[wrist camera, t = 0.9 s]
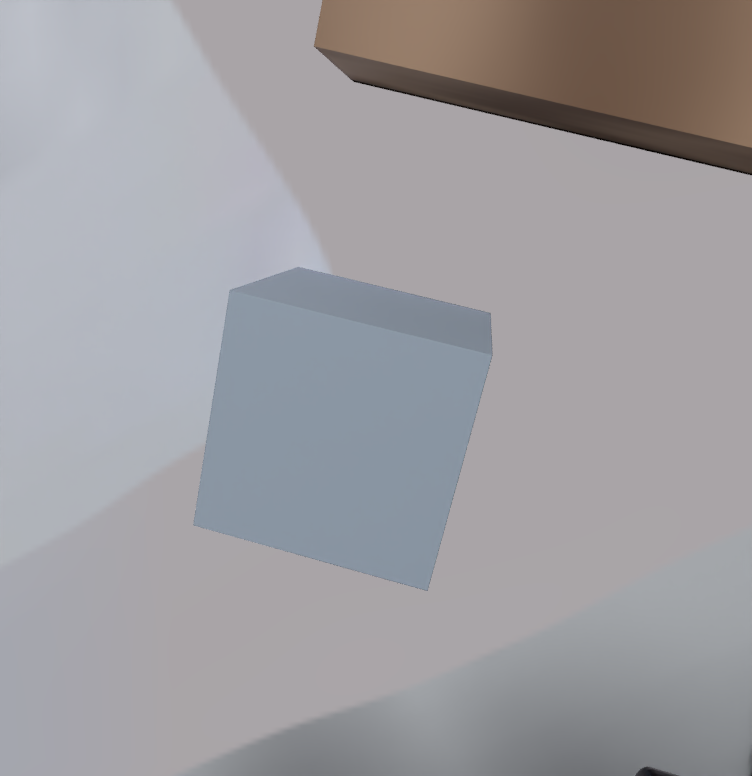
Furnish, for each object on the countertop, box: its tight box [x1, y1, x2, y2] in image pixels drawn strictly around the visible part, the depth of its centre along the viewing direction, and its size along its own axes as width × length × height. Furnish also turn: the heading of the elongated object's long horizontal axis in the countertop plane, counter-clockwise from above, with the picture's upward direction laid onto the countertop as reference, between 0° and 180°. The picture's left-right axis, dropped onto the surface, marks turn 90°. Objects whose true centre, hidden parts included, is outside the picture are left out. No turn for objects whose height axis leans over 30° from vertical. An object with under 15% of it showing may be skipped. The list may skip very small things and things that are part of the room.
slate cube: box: [193, 267, 492, 591], centre depth 16 cm, size 5×5×5 cm
